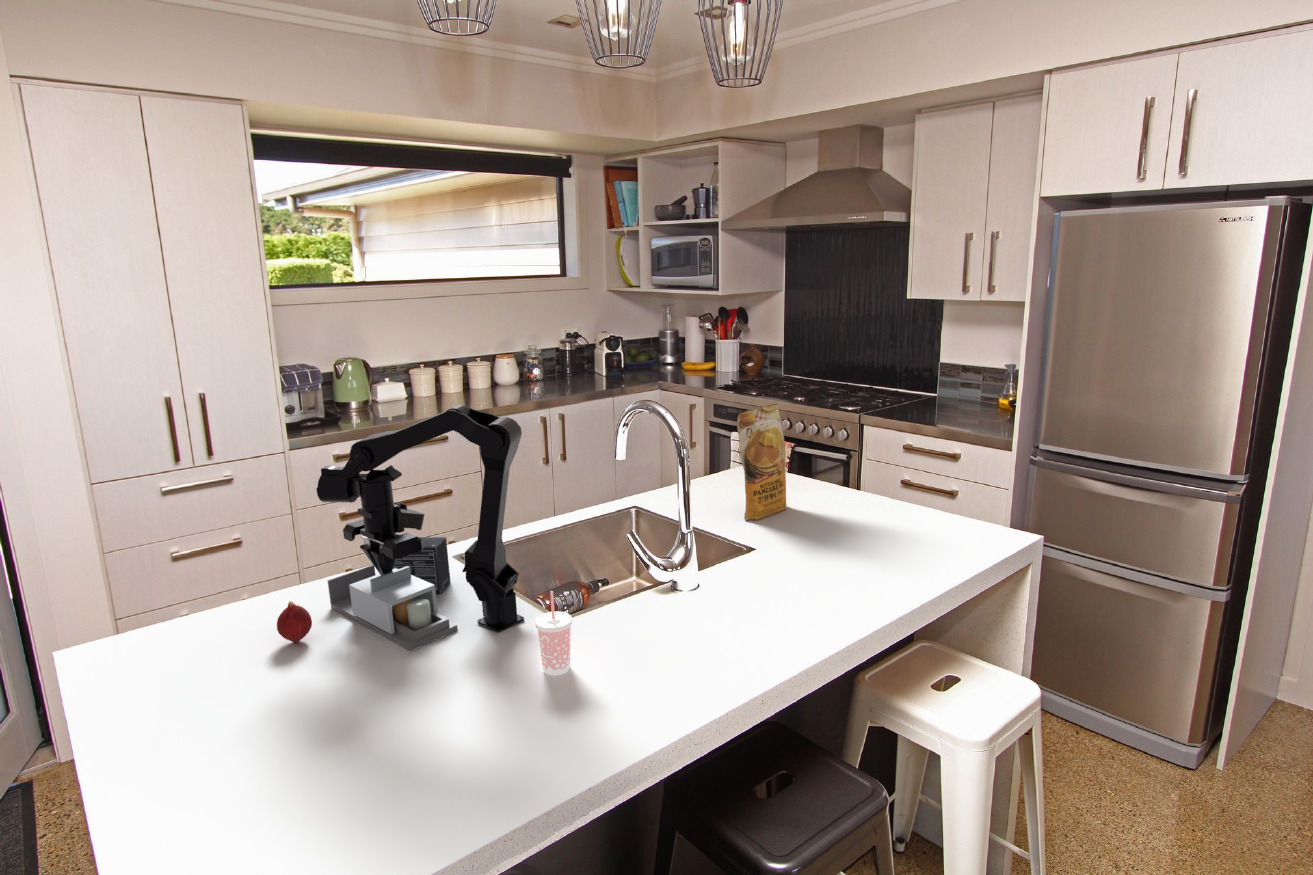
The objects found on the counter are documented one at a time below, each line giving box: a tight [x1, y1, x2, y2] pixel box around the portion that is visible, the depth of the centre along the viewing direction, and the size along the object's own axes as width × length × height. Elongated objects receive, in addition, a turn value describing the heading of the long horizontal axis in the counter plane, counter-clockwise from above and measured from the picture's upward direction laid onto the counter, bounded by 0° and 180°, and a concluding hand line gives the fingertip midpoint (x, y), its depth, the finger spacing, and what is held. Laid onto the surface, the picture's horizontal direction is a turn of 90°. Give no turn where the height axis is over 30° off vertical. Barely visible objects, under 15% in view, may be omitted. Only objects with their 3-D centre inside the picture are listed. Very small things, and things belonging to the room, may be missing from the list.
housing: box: [327, 564, 459, 652], centre depth 152 cm, size 28×10×6 cm, turn 50°
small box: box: [393, 536, 452, 595], centre depth 166 cm, size 11×6×10 cm, turn 84°
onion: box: [276, 600, 313, 643], centre depth 144 cm, size 6×6×8 cm
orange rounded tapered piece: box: [392, 597, 414, 625], centre depth 149 cm, size 4×4×5 cm
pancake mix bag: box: [736, 403, 787, 521], centre depth 204 cm, size 7×19×28 cm, turn 132°
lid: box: [349, 566, 439, 634], centre depth 151 cm, size 14×10×8 cm
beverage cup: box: [534, 590, 573, 676], centre depth 132 cm, size 6×6×14 cm
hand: (387, 579), depth 152 cm, fingers closed
